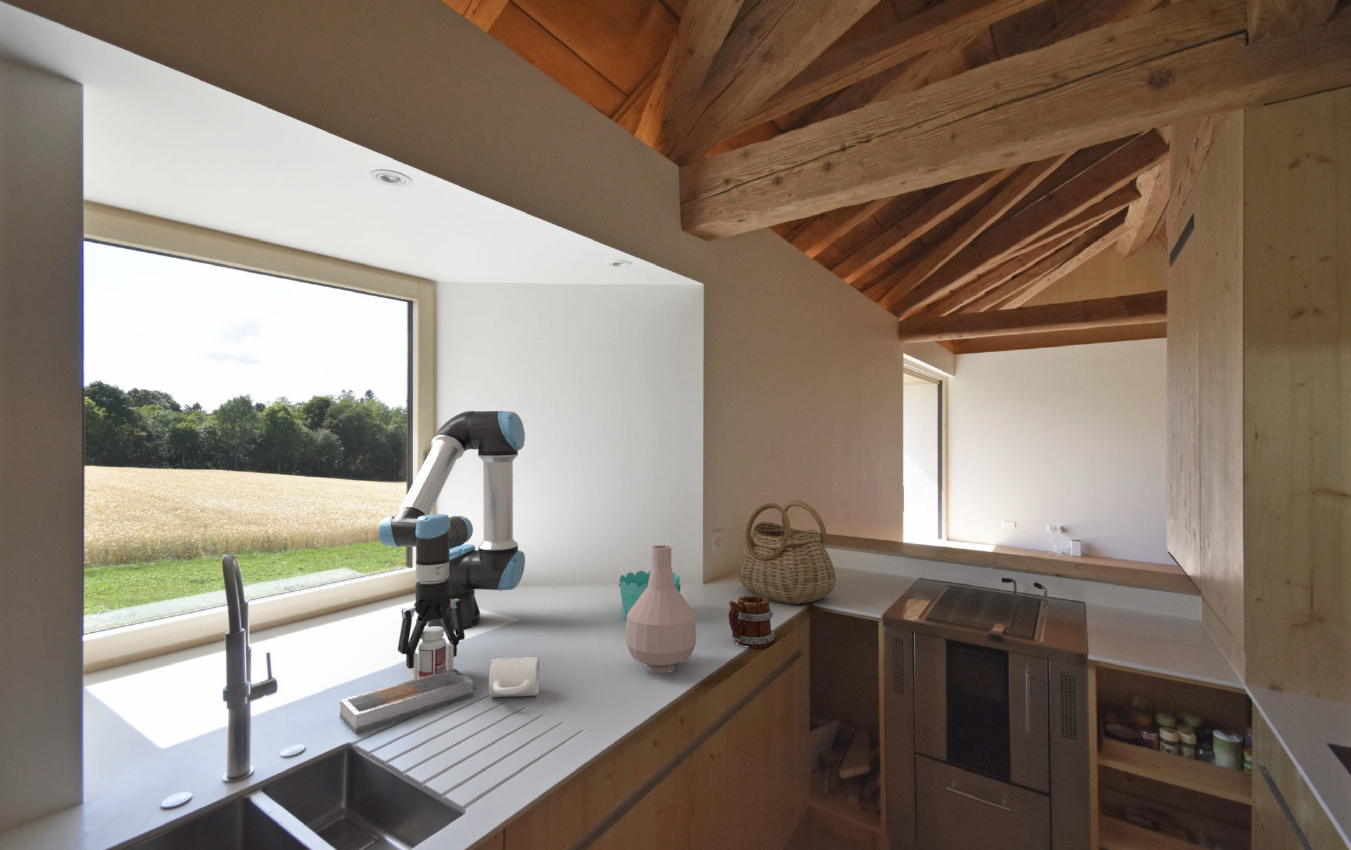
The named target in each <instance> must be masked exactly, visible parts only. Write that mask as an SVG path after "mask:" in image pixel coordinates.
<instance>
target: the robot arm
mask: <svg viewBox="0 0 1351 850" xmlns="http://www.w3.org/2000/svg"><path fill="white" fill-rule="evenodd" d="M525 435H526V434H525V427H524V423H523V421H522V419H521V417H520V415H519V414H517V413H516V412H515V411H507V410H487V411H486V410H484V411H483V410H480V411H479V410H477V411H475V410H468V411H463V412H461V413H459V414H456V415H455V416H453V417H451V418H450V419H449V420H447V421H446V422H445V423H444V424H442V426H441V427H439V429H438V430H437V432H435V434H434V436H433V438H432V440H431V442H430V445H431V446H430V447H431V449H430V451H429V453H428V455H427V457H426V459H425V461H424V463H423V465H422V466H421V469H420V470H419V472H418V474H417V476H416V477H415V479H414V482H413V483H412V485H411V487H410V489H409V491H408V493H407V495H406V496H405V498H404V500H403V502H402V504H401V506H400V507H399V510H398V511H397V513H396V515H391V516H386V517H384V518H383V519H382V520H381V521H380V522H379V525H378V531H377V534H378V535H377V536H378V540H379V541H380V543H381V544H382V545H384V546H387V547H395V548H401V547H402V548H403V547H405V548H406V547H407V548H409V547H413V548H414V547H415V551H416V552H415V556H416V557H415V558H416V559H415V581H416V582H415V603H414V604H413V606H412V607H408V608H402V609H401V617H402V622H401V626H400V627H401V628H400V634H399V639H398V644H397V645H398V646H397V652H399V653H400V654H402V655H405V656H406V657H405V658H406V659H405V661H406V662H405V665H406V667H407V668H408V669H409V670H410V671H409V681H410V680H414V679H417V678H418V652H416V650H417V649H418V645H419V643H420V641H421V635H422V633H423V630H424V628H426V626H427V627H432V626H439V627H443V629H444V633H445V635H446V638H447V640H448V642H446V670H450V669H453V668H454V658H455V657H457V654H458V645H459V643H460V641H463V640H464V639H465V638H466V634H465V629H467V628H470V627H474V626H476V625H478V623H480V622H481V612H480V607H479V605H478V602H477V599H476V594H475V593H476V592H475V590H487V591H492V590H493V591H499V592H500V591H501V592H502V591H511V590H514V589H516V587H518V586H519V584H520V583H521V580H522V577H523V574H524V570H525V565H526V564H525V563H526V556H525V553H524V552H523V551H522V550H519V543H518V542H517V541H516V540H514V526H513V525H514V511H513V510H514V494H513V493H514V491H513V490H514V489H513V488H514V487H513V485H514V480H513V477H514V476H513V475H514V472H513V471H514V470H513V469H514V468H513V467H514V466H513V465H514V464H513V462H514V460H516V458H517V457H518V456H519V451H520V450H522V449H523V447H524V446H525V441H526V440H525V439H526V436H525ZM468 450H477V456H478V457H479V458H480V459H481V460H482V462H483V464H482V465H483V466H482V467H483V471H482V473H483V475H482V477H483V497H482V498H483V502H482V503H483V541H482V542H480V544H479V545H478V547H477V549H476V546H475V545H474V544H470V543H469V544H465V543H467V542H468V541H469V540H470V539H471V538H472V537H473V534H474V533H473V532H474V527H473V524H472V522H471V521H470V519H469V518H468V517H466V516H463V515H457V516H456V515H453V516H450V517H449V515H448V514H445V513H444V514H443V513H437V514H436V513H434V514H433V513H432V511H433V509H434V507H435V505H436V503H437V500H438V498H439V497H440V494H441V492H442V490H443V489H444V486H445V485H446V482H447V480H448V478H449V476H450V473H452V470H453V468H454V466H455V464H456V461H457V460H458V459H460V458H461V457H463V455H464V453H465V452H467V451H468ZM431 513H432V514H431ZM415 613H416V614H417V618H416V621H415V625H414V628H413V630H412V632H411V628H412V623H413V618H414V616H415Z"/></svg>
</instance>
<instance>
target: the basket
mask: <svg viewBox="0 0 1351 850" xmlns="http://www.w3.org/2000/svg"><path fill="white" fill-rule="evenodd" d="M791 507H800V508H801V509H804V510H805V511H807V512H808V513H809V514H810V515H811V516H812V517H813V519H815V521H816V522H817V525H818V527H819V531H820V534H819V531H818V530H815V529H808V530H803V531H802V530H800V529H799V530H798V529H794V528H792V527H791V523H790V517H789V515H788V513H787V512H788V510H789V509H790V508H791ZM768 509H775V510H777V511H779V513H781V524H777V523H774V522H767V521H762V522H758V523H757V524H756V525H755V526H754V528H753V525H754V523H755V520H756V519H757V518H758V516H759V515H760V514H762V512H764V511H765V510H768ZM752 528H753V530H752ZM744 533H745V537H744V538H745V547H744V550H743V551H742V554H741V556H740V558H739V560H738V564H737V576H738V580H739V581H740V583H741V585H742V586H743V587H744V588H745V589H746V590H747V591H749V592H750V593H752V594H753V595H754V596H761V597H765V598H767V599H768V600H769V601H772V600H773V601H772V602H776V601H777V602H776V603H780V602H781V604H784V603H786V605H792V604H796V605H802V604H803V603H805V604H808V602H810V603H813V601H814V602H817V601H819V600H821V599H824V598H825V597H827V596H829V595H830V594H831V593H832V591H833V590H834V588H835V586H836V581H837V580H836V579H837V578H836V577H837V576H836V570H835V567H834V563H833V561H832V559H831V557H830V555H829V553H828V550H827V549H826V547H825V545H826V541H827V531H826V527H825V524H824V522H823V519H822V518H821V516H820V514H819V513H818V512H817V511H816V510H815V509H814V508H813V507H812V506H811V505H809V504H807V503H805V502H804V501H801V500H792V501H789V502H788V503H786V504H785V505H784V507H783V506H781V505H779V504H776V503H772V502H771V503H770V502H769V503H768V502H767V503H764V504H762V505H760V506H759V507H757V508H756V509H755V510H754V512H753V513H752V514H751V516H750V517H749V519H748V521H747V524H746V528H745V532H744ZM816 600H817V601H816ZM803 605H804V604H803Z"/></svg>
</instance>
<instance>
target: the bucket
mask: <svg viewBox="0 0 1351 850" xmlns="http://www.w3.org/2000/svg"><path fill="white" fill-rule="evenodd" d="M650 572H651V570H649V571H648V572H646V571H644V570H639V571H635V573H633V572H628V573H627V574H626V575H624V574H622V575H620V577H619V578H618V580H619V583H618V587H619V589H620V596H621V605H622V606H621V607H622V614H623V616H622V617H623V620H624V621H625V622H627V614H628V612H629V611H630V609H631V608H632V607H633V605H634V604H635V603H636V601H637V600H638V599H639V597H640V596H641V595H642V593H643V592H644V591H645V589H646V588H647V587H648V582H649V577H650ZM672 573H673V578H674V583H675V587H676V588H677V590H678V591H679V593H681V592H680V591H681V586H682V585H681V583H680V580H681V576H680V575H677V574H676V573H674V572H672Z"/></svg>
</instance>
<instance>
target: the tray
mask: <svg viewBox="0 0 1351 850" xmlns="http://www.w3.org/2000/svg"><path fill="white" fill-rule="evenodd" d="M473 683H474V682H473V679H472V678H470V677H468V676H466V675H465V674H463V673H462V672H460V671H459V670H457V669H456V668H454V667H453V669H450V670H446V671H442V672H439V673H435V674H432V675H428V676H424V677H421V678H417V679H414V680H410V679H409V680H408V681H404V682H400V683H397V684H392V685H389V686H386V687H382V688H378V689H375V690H371V691H368V692H364V693H361V694H357V695H354V696H353V695H352V696H350V697H345V698H342V699H340V703H339V704H340V708H339V718H340V719H342V721H343V722H344V723H345V724H346V725H347V726H348V727H349V728H350V729H351V730H352V732H353V733H354V734H355V735H358V734H360V733H364V732H366V731H369V730H373V729H375V728H379V727H382V726H385V725H388V724H391V723H395V722H397V721H400V720H401V721H402V720H403V719H407V718H410V717H414V716H417V715H420V714H423V713H425V712H429V711H432V710H435V709H438V708H442V707H444V706H448V705H451V704H455V703H457V702H458V703H459V702H460V701H464V700H467V699H470V698H473V697H474V692H473V688H474V687H473Z"/></svg>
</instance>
